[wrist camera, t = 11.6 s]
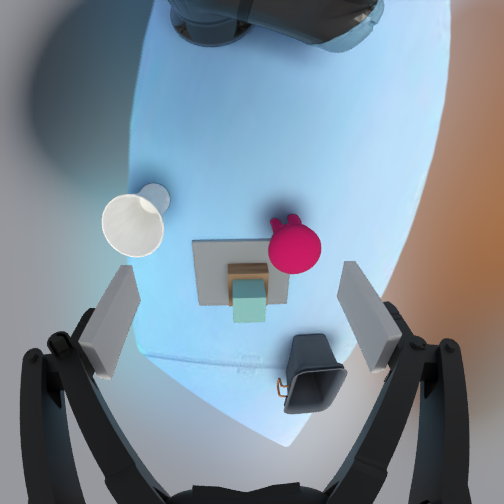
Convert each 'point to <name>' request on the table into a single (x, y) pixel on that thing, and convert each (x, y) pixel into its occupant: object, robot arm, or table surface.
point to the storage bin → (311, 375)
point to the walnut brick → (247, 275)
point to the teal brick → (249, 300)
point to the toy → (293, 246)
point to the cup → (136, 221)
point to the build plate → (231, 252)
